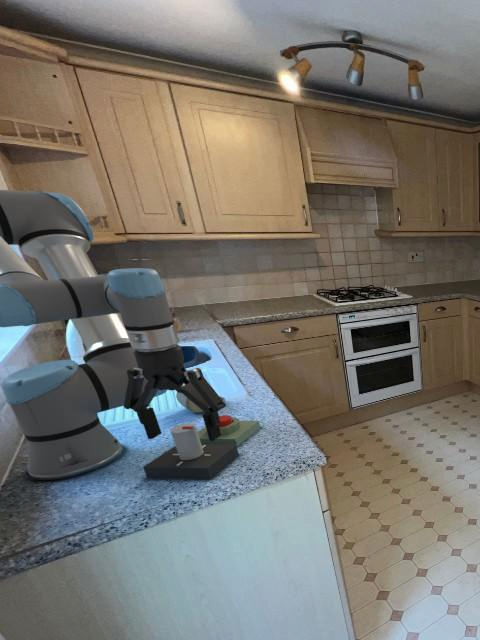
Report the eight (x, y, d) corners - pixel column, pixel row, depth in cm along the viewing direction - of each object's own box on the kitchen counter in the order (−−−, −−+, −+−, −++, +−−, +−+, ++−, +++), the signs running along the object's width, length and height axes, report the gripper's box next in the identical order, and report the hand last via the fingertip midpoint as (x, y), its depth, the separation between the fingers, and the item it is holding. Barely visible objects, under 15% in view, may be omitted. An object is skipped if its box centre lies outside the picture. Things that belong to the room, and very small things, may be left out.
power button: (210, 427, 103) (208, 421, 103) (221, 420, 107) (219, 414, 106) (226, 428, 103) (224, 422, 103) (236, 421, 107) (234, 415, 106)
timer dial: (174, 460, 90) (164, 431, 88) (189, 449, 94) (180, 422, 92) (194, 460, 90) (185, 431, 88) (208, 450, 94) (199, 422, 92)
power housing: (190, 445, 102) (185, 431, 100) (217, 427, 111) (213, 414, 110) (237, 446, 102) (233, 432, 100) (260, 427, 111) (257, 414, 110)
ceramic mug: (189, 417, 116) (182, 393, 113) (179, 409, 120) (172, 386, 118) (230, 406, 124) (225, 382, 121) (220, 399, 128) (214, 376, 126)
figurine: (160, 333, 200) (153, 308, 195) (175, 329, 206) (168, 306, 202) (170, 334, 198) (163, 310, 193) (185, 331, 204) (178, 307, 200)
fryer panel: (147, 478, 89) (142, 466, 88) (181, 454, 98) (178, 443, 97) (210, 479, 89) (206, 467, 88) (239, 455, 98) (236, 444, 97)
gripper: (77, 350, 79) (114, 444, 87) (204, 354, 79) (230, 447, 87) (112, 339, 86) (143, 427, 94) (229, 343, 86) (250, 430, 94)
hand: (185, 437), depth 91 cm, fingers open, 13 cm apart
